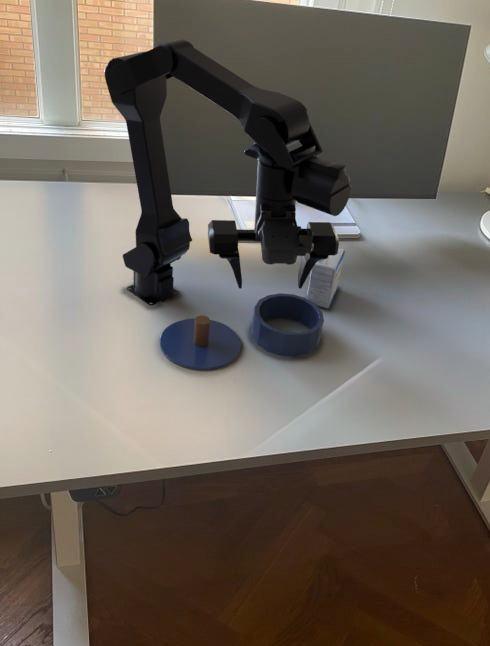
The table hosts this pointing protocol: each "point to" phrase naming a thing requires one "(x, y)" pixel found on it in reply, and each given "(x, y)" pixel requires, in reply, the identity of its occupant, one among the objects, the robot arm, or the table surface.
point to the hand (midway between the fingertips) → (270, 287)
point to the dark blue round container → (282, 340)
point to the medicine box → (325, 279)
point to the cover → (200, 343)
